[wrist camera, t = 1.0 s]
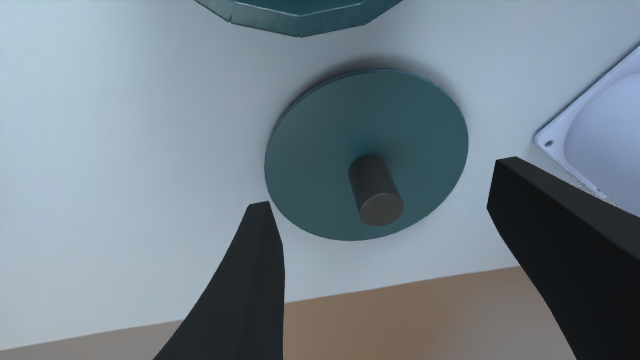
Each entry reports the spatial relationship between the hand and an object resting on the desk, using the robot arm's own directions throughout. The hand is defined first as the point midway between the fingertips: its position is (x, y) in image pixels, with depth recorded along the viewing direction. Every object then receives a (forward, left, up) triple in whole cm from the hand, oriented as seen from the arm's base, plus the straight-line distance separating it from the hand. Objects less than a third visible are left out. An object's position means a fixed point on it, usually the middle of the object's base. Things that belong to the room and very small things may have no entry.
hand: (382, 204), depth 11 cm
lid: (-4, +3, -9) cm, 11 cm away
